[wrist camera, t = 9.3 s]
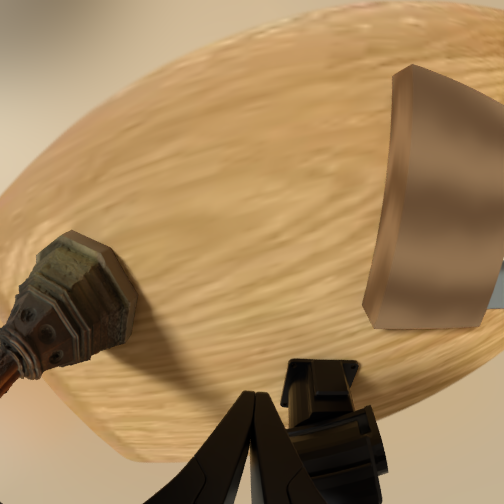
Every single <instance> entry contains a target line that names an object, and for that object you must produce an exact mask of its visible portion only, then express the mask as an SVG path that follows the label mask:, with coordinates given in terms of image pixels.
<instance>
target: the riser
mask: <svg viewBox="0 0 504 504" xmlns="http://www.w3.org/2000/svg"><path fill="white" fill-rule="evenodd" d="M503 259H504V105H503V104H501V103H499V102H497V101H496V100H494V99H492V98H490V97H488V96H486V95H484V94H483V93H481V92H479V91H477V90H475V89H473V88H470V87H468V86H466V85H464V84H462V83H460V82H458V81H455V80H453V79H451V78H448V77H446V76H443V75H441V74H438V73H436V72H433V71H431V70H428V69H425V68H423V67H420V66H417V65H414V64H411V65H410V66H408V67H406V68H405V69H403V70H401V71H400V72H398V73H396V74H395V75H393V76H392V114H391V132H390V146H389V157H388V167H387V176H386V184H385V192H384V199H383V206H382V212H381V218H380V224H379V230H378V235H377V241H376V246H375V251H374V256H373V260H372V265H371V270H370V274H369V278H368V283H367V287H366V291H365V295H364V299H363V303H362V306H363V308H364V310H365V312H366V314H367V316H368V318H369V320H370V322H371V324H372V326H373V328H374V329H437V328H463V327H479V326H480V324H481V322H482V319H483V317H484V315H485V312H486V309H487V307H488V304H489V302H490V299H491V296H492V293H493V291H494V288H495V285H496V282H497V279H498V276H499V272H500V269H501V266H502V262H503Z"/></svg>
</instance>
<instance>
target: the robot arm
mask: <svg viewBox="0 0 504 504" xmlns="http://www.w3.org/2000/svg"><path fill="white" fill-rule="evenodd" d="M292 364H295V365H292ZM353 365H354V366H353ZM357 369H358V363H357V361H354V360H313V359H291V360H289V362H288V367H287V372H286V377H285V382H284V387H283V391H282V396H281V401H280V405H281V406H282V407H287V408H289V429H285V427H284V425H283V423H282V421H281V419H280V417H279V414H278V412H277V410H276V408H275V406H274V404H273V402H272V400H271V397H270V395H269V394H268V393H267V392H256V393H255V392H254V391H246V390H245V391H243V392H242V393H241V395H240V396H239V397H238V399H237V400H236V402H235V403H234V404H233V406H232V407H231V408H230V410H229V411H228V412H227V414H226V415H225V416H224V418H223V419H222V420H221V422H220V423H219V424H218V426H217V427H216V428H215V430H214V431H213V432H212V434H211V435H210V436H209V437H208V439H207V440H206V441H205V443H204V444H203V445H202V446H201V448H200V449H199V450H198V451H197V453H196V454H195V455H194V457H192V459H191V460H190V461H189V462H188V463H187V465H186V466H185V467H184V468H183V469H182V470H181V471H180V472H179V474H177V475H176V477H174V478H173V479H172V480H171V481H170V482H169V483H168V484H167V485H165V486H164V487H163V488H162V489H161V490H159V491H158V492H157V493H156V494H154V495H153V496H152V497H151V498H149V499H148V500H147V501H146V502H144V503H143V504H234V500H235V497H236V494H237V491H238V487H239V484H240V480H241V476H242V473H243V470H244V466H245V462H246V459H247V455H248V451H249V446H250V470H251V498H252V504H381V503H382V494H381V489H380V484H379V479H378V476H379V475H383V474H385V473H388V466H387V461H386V456H385V451H384V447H383V443H382V439H381V436H380V433H379V429H378V426H377V423H376V420H375V416H374V413H373V410H372V407H371V405H368V406H366V407H364V408H363V409H360V410H357V411H355V409H354V405H353V400H352V396H351V392H350V387H351V385H352V382H353V380H354V377H355V375H356V372H357ZM255 395H256V396H255ZM250 439H251V440H250ZM0 504H2V503H1V502H0Z"/></svg>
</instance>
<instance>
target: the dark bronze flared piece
mask: <svg viewBox="0 0 504 504" xmlns="http://www.w3.org/2000/svg"><path fill="white" fill-rule="evenodd" d="M137 297H138V294H137V293H136V291H135V289H134V288H133V286H132V285H131V283H130V281H129V280H128V278H127V276H126V274H125V273H124V271H123V269H122V268H121V266H120V264H119V262H118V260H117V259H116V257H115V255H114V253H113V251H112V250H111V248H110V247H108V246H106V245H104V244H101V243H99V242H97V241H95V240H92V239H90V238H88V237H86V236H84V235H81V234H79V233H77V232H75V231H73V230H71V231H69V232H66V233H64V234H62V235H61V236H59V237H58V238H57V239H56V240H54V241H53V242H52V243H51V244H49V245H48V246H47V247H46V248H44V249H43V250H42V251H41V252H39V253H38V254H37V255H36V265H35V266H34V268H33V271H32V272H31V273H30V275H29V278H27V279H26V281H25V282H24V283H23V284H22V285H19V294H17V295H16V296H15V300H16V301H15V304H14V307H13V309H12V311H11V314H10V316H9V318H8V321H7V323H6V324H5V325H4V326H3V327H2V328H0V398H1V397H2V396H3V394H5V393H7V391H8V390H9V388H10V387H11V386H12V384H13V383H14V382H15V381H16V380H17V379H18V378H21V379H24V377H26V378H28V379H30V380H34V379H36V380H38V379H40V378H41V375H42V373H43V372H44V371H46V370H48V369H52V368H55V367H58V366H59V367H65V366H68V365H73V364H77V363H80V362H81V363H82V362H83V361H88V360H90V358H91V356H92V355H94V354H97V353H99V352H100V351H103V350H105V349H107V348H111V347H114V346H117V345H121V344H124V343H125V342H126V341H127V339H128V338H129V336H130V335H131V333H132V326H133V320H134V314H135V308H136V303H137Z"/></svg>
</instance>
